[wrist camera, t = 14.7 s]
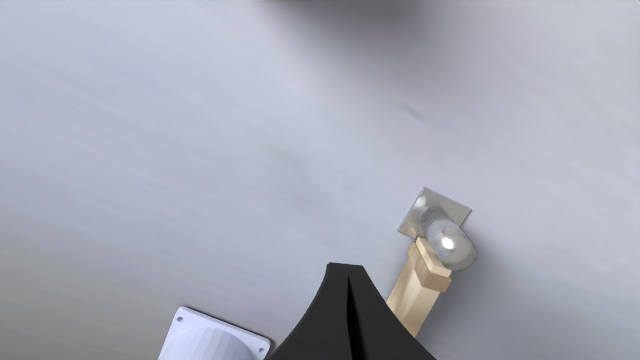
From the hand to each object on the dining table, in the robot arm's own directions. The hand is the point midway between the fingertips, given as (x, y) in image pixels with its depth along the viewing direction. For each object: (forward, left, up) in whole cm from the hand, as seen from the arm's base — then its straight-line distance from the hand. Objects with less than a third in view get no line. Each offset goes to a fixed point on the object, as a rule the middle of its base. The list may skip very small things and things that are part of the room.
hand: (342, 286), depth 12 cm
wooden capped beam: (-5, -8, -10) cm, 13 cm away
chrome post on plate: (+1, -7, -10) cm, 12 cm away
